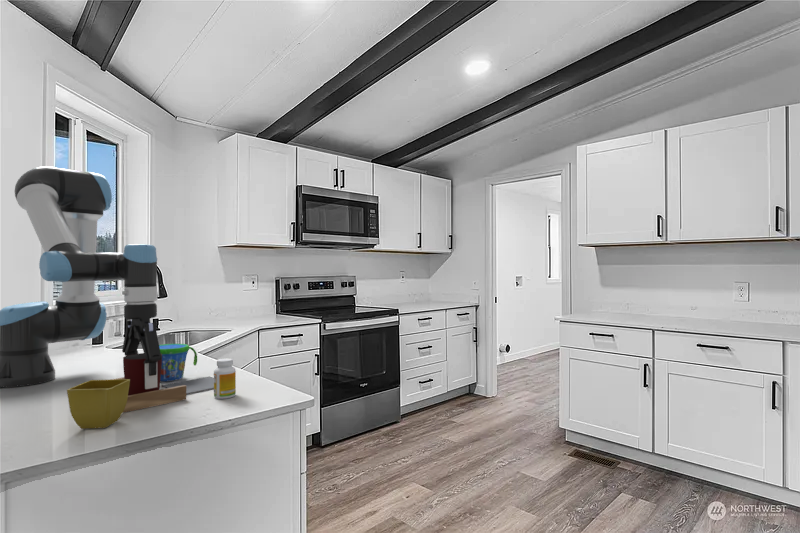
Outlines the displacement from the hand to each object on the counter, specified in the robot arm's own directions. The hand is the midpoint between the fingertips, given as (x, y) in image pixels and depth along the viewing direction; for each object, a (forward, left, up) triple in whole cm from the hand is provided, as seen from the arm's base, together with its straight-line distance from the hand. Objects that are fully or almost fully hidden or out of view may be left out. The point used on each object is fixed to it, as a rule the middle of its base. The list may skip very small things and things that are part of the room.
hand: (141, 383), depth 122 cm
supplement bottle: (+16, +15, -4) cm, 22 cm away
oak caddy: (0, -2, -4) cm, 4 cm away
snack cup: (-14, +13, -4) cm, 20 cm away
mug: (0, 0, -4) cm, 4 cm away
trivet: (0, +15, -4) cm, 15 cm away
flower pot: (+17, -14, -4) cm, 22 cm away
